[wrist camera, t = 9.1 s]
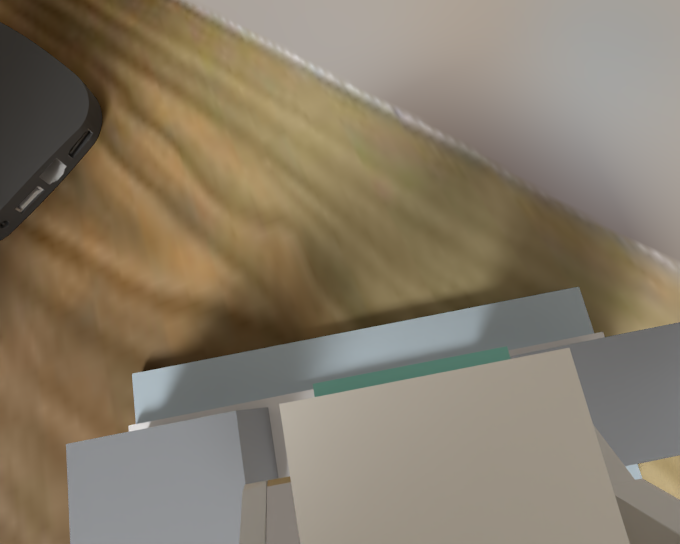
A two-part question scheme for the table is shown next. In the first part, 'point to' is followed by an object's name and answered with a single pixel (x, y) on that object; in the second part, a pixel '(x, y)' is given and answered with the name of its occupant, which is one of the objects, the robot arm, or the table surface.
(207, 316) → the table surface
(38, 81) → the media streaming box
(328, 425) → the block
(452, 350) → the twin block stand
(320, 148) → the table surface
